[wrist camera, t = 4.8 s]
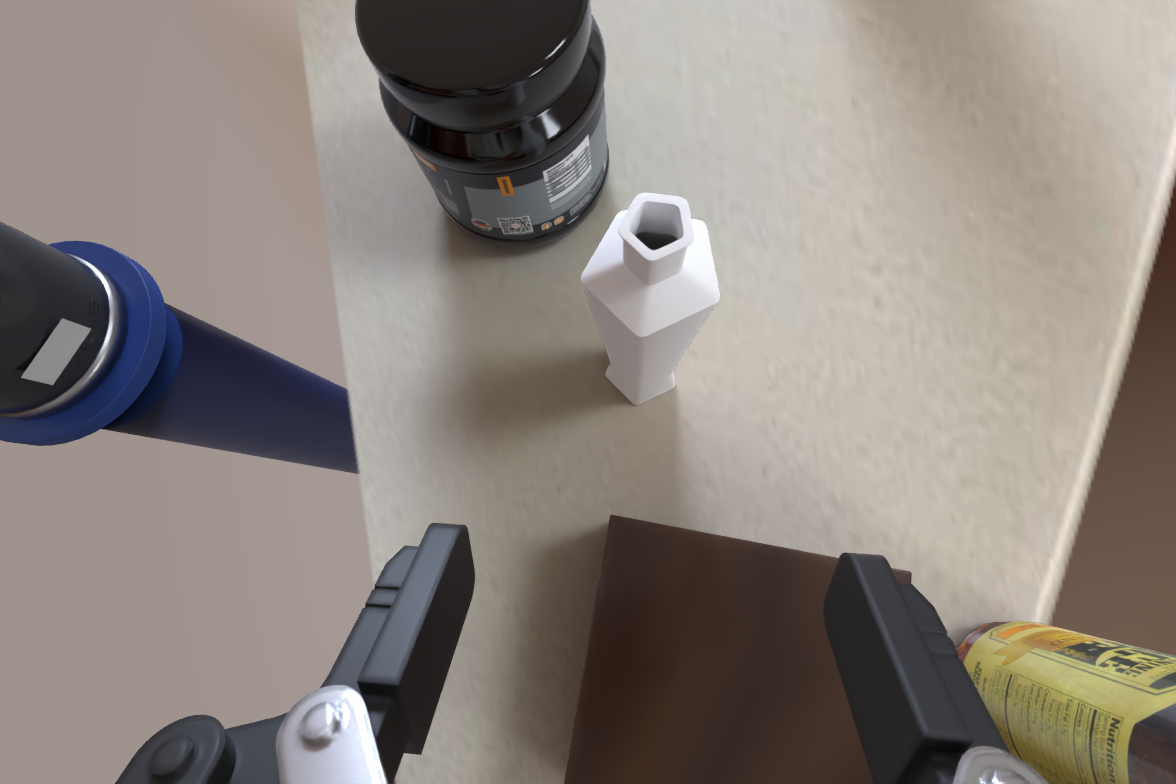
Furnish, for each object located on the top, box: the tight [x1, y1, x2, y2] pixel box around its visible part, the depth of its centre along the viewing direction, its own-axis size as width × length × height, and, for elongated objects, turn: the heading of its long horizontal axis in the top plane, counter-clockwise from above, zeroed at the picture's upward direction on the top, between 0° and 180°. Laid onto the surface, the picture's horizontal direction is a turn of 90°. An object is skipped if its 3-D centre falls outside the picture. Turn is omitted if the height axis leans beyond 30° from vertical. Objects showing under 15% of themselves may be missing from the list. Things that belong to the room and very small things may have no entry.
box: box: [564, 515, 912, 784], centre depth 24 cm, size 12×12×5 cm
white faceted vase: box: [581, 193, 720, 405], centre depth 22 cm, size 5×4×15 cm
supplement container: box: [355, 0, 609, 248], centre depth 27 cm, size 10×10×12 cm
